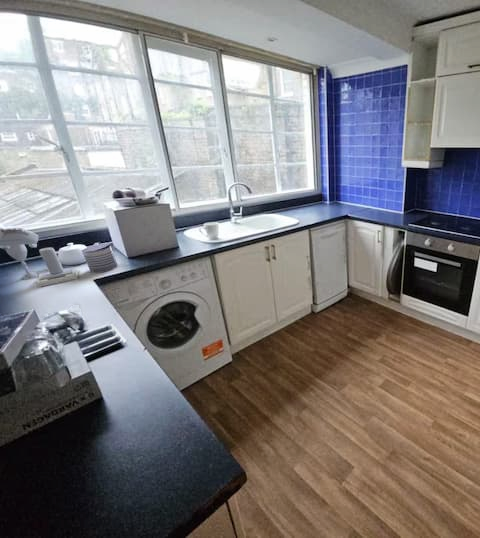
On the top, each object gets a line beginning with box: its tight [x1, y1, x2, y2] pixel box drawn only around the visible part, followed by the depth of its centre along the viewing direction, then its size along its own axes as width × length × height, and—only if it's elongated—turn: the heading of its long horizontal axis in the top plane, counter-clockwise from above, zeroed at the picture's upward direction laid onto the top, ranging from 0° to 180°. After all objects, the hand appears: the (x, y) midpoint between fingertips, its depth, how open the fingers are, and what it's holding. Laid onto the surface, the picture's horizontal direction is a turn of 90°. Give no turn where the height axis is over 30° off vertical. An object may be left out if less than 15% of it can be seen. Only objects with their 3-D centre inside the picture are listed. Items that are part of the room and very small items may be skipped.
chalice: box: [5, 244, 39, 280], centre depth 139 cm, size 7×7×18 cm
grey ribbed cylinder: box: [81, 242, 119, 274], centre depth 148 cm, size 11×11×12 cm
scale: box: [36, 266, 79, 288], centre depth 140 cm, size 13×12×3 cm
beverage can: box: [38, 246, 64, 274], centre depth 137 cm, size 5×5×12 cm
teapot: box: [55, 242, 101, 266], centre depth 158 cm, size 22×14×11 cm, turn 133°
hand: (21, 247), depth 124 cm, fingers open, 8 cm apart
